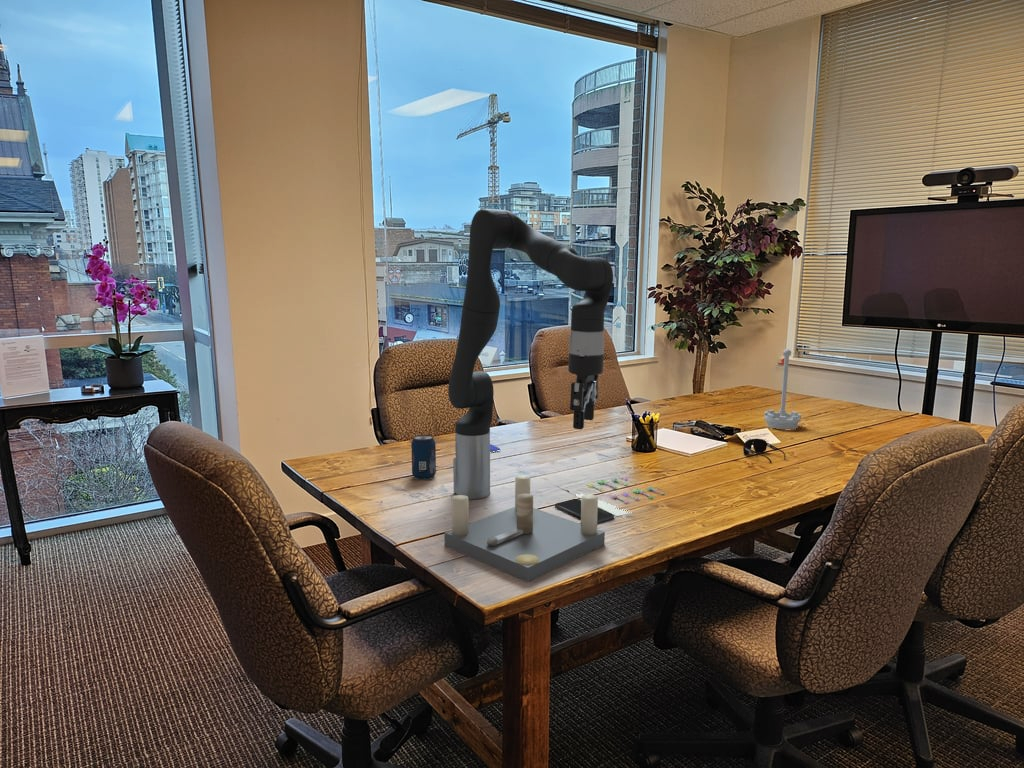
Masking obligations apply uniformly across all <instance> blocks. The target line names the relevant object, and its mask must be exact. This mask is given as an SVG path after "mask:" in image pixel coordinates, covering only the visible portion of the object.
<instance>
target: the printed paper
mask: <svg viewBox="0 0 1024 768" xmlns="http://www.w3.org/2000/svg"><path fill="white" fill-rule="evenodd" d="M622 478H623V479H621V478H620V480H619V479H618V478H612V479H611V478H610V480H609V481H608V480H604V479H602V480H597V483H598V484H600V485H606V486H610V488H611V490H612V489H613V490H620V488H619V487H617V486H614V485H612V484H609V482H611V481H612V482H615V483H616V482H617V483H618V484H623V485H625V486H627V485H628V484H629V483H628V482H627V483H625V482H621V481H623V480H624V481H629V480H630V481H629V482H631V481H632V480H631V479H629V477H622ZM633 482H634V483H633ZM631 483H633V484H634V485H640V483H639V482H635V481H632V482H631ZM586 486H588V488H594V489H595V490H598V491H600V492H604V491H605V490H604V489H603V487H602V488H599V487H596V486H595V485H594V484H593V483H591V482H589V483H588V484H586ZM594 486H595V487H594ZM614 488H615V489H614ZM616 488H618V489H616ZM656 489H658V488H657V487H655V488H654V487H653V486H651V487H646V489H644V490H643V489H638V488H635V489H632V492H633V493H635V494H641V495H645V496H646V497H648V499H654V498H656V496H654V495H649V494H648V493H645V492H646V491H653V492H654V493H657V494H661V495H663V494H665V492H661V491H658V490H656ZM644 491H645V492H644ZM580 493H581V494H580V495H578V494H576V497H577V498H578V499H581V497H582V496H583V495H585V494H584V493H582V492H580ZM619 495H621V496H623V498H624V497H629V498H631V499H632V498H633V500H634V501H641V498H640V499H639V497H638V498H636V497H633V496H631V495H630V494H629V493H627V492H626V491H623V493H620V494H619ZM619 495H612V494H610V496H609V495H608V494H607V495H606V496H607V497H609V499H610V498H611V499H612V500H614V499H615V498H616V499H618V500H619V501H622V502H623V503H624V504H629V503H630V501H629V500H628V501H625V500H624V499H622V498H620V497H619ZM629 495H630V496H629ZM607 503H608V502H606V501H603V500H600V499H598V508H600V509H602V510H604V511H607V512H609V513H611V514H613V515H614V516H616V517H619V516H623V515H629V514H633V513H632V512H633V511H631V513H630V512H629V513H628V512H627V513H626V511H627V510H628V509H625V510H626V511H625V510H624V511H623V509H624V508H623V509H622V510H621V509H620V510H619V508H618V509H617V508H616V506H617V505H614V504H612V503H608V504H607ZM611 504H612V505H611ZM613 505H614V506H613ZM615 508H616V509H615Z"/></svg>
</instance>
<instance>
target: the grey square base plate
mask: <svg viewBox="0 0 1024 768" xmlns="http://www.w3.org/2000/svg"><path fill="white" fill-rule="evenodd" d="M514 479H515V480H514V481H515V482H514V483H515V484H514V486H515V487H514V490H515V491H514V506H513V507H511V508H508V509H505V510H502V511H500V512H497V513H494V514H491V515H489V516H485V517H484V518H481V519H478V520H475V521H473V522H470V521H469V516H470V515H469V499H468V496H465V495H453V496H452V497H451V529H450V530H447V531H445V532H444V536H443V538H444V546H445V547H448V548H450V549H452V550H454V551H457V552H459V553H460V554H463V555H465V556H467V557H469V558H472V559H474V560H477V561H479V562H481V563H484V564H486V565H488V566H491V567H493V568H495V569H497V570H500V571H502V572H504V573H506V574H509V575H511V576H513V577H515V578H518V579H520V580H522V581H524V582H527V583H529V582H531V581H533V580H535V579H537V578H539V577H541V576H543V575H545V574H548V573H550V572H551V570H552V571H553V569H554V570H556V569H558V568H560V567H562V566H564V565H566V564H568V563H570V562H572V561H574V560H576V559H578V558H580V557H582V556H584V555H586V554H588V553H591V552H592V550H593V551H595V550H596V549H599V548H600V547H603V546H604V545H605V542H606V541H605V539H606V538H605V534H606V532H605V531H604V530H600V529H599V528H598V524H597V513H598V508H599V507H598V500H599V497H598V496H597V495H595V494H584V495H583V496H582V497H581V498H580V500H581V520H580V522H576V521H574V520H570V519H567V518H565V517H561V516H559V515H556V514H553V513H550V512H546V511H543V510H540V509H538V508H535V507H533V532H531V533H528V534H521V535H518V536H516V537H514V538H511V539H509V540H506V541H504V542H501V543H499V544H497V545H495V546H489V545H487V538H490V537H495V536H498V535H500V534H503V533H505V532H508V531H510V530H513V529H516V528H517V495H519V494H524V493H525V494H531V476H530V475H527V474H521V475H520V474H519V475H516V476H515V478H514ZM469 522H470V523H469ZM598 547H599V548H598ZM594 549H595V550H594ZM590 551H591V552H590ZM581 555H582V556H581ZM579 556H580V557H579ZM577 557H578V558H577ZM575 558H576V559H575ZM573 559H574V560H573ZM571 560H572V561H571ZM569 561H570V562H569ZM567 562H568V563H567ZM565 563H566V564H565ZM563 564H564V565H563ZM561 565H562V566H561ZM559 566H560V567H559ZM557 567H558V568H557ZM555 568H556V569H555ZM549 571H550V572H549ZM547 572H548V573H547Z"/></svg>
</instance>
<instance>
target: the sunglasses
mask: <svg viewBox="0 0 1024 768" xmlns="http://www.w3.org/2000/svg"><path fill="white" fill-rule="evenodd" d="M752 446H753V449H752ZM767 447H768V448H769V449H772V450H774V451H779V452H781V453H782V454H783V455H784V459H783V461H784V460H785V461H786V457H787V456H786V453H785V452H784V451H783V450H782V449H780V448H778V447H776V446H774V444H771V443H769V442H767V441H766V439H762V438H749V439H748V440H746V441H745V442H744V443H743V449H742V450H743V455H744V456H746V455H745V454H747V455H749V454H752V455H754V454H757V455H759V456H762V457H763V458H766V459H767V460H768V461H769V463H770V462H772V463H773V461H772V460H771V459H770V458H769V457H768V456H766V455H764V454H762V453H764V452H767V451H766V450H767ZM757 452H759V453H757ZM748 453H749V454H748Z"/></svg>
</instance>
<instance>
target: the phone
mask: <svg viewBox="0 0 1024 768" xmlns="http://www.w3.org/2000/svg"><path fill="white" fill-rule="evenodd" d="M554 508H555V509H556V508H557V510H558V509H559V511H561V512H562V513H563V512H564V513H566V514H567V515H569V516H571V517H573V518H575V517H576V518H575V519H578V520H580V521H581V499H580V498H572V499H568V500H565V501H561V502H556V503H555V504H554ZM614 519H615V515H614V514H612V513H609V512H607V511H605V510H603V509H601V508H599V507H598V513H597V525H599V524H603V523H604V522H610V521H612V520H613V521H614Z"/></svg>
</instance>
